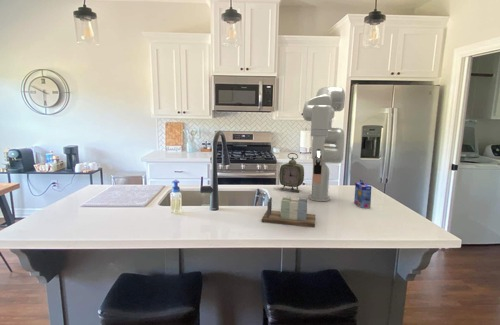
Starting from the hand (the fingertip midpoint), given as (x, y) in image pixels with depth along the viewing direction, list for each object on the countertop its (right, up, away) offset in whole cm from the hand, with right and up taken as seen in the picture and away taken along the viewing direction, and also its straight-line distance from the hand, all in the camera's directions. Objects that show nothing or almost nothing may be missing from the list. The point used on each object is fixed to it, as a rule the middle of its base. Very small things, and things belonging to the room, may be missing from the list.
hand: (317, 172), depth 134 cm
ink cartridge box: (+32, -20, +30) cm, 48 cm away
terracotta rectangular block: (0, -4, +1) cm, 4 cm away
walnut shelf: (-12, -23, +6) cm, 26 cm away
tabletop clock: (-3, -14, +60) cm, 62 cm away
